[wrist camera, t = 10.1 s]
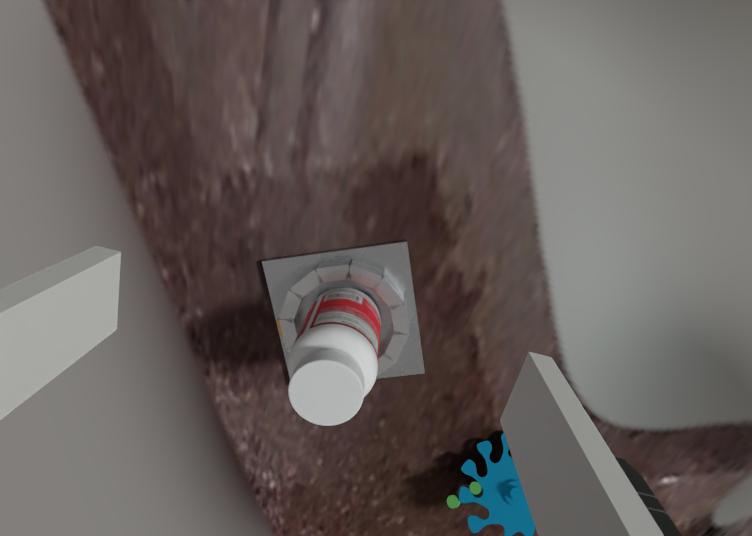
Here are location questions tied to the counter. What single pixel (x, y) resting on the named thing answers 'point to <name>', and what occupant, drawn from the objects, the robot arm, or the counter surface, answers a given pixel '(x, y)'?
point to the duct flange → (357, 271)
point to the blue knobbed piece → (496, 494)
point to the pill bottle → (335, 357)
